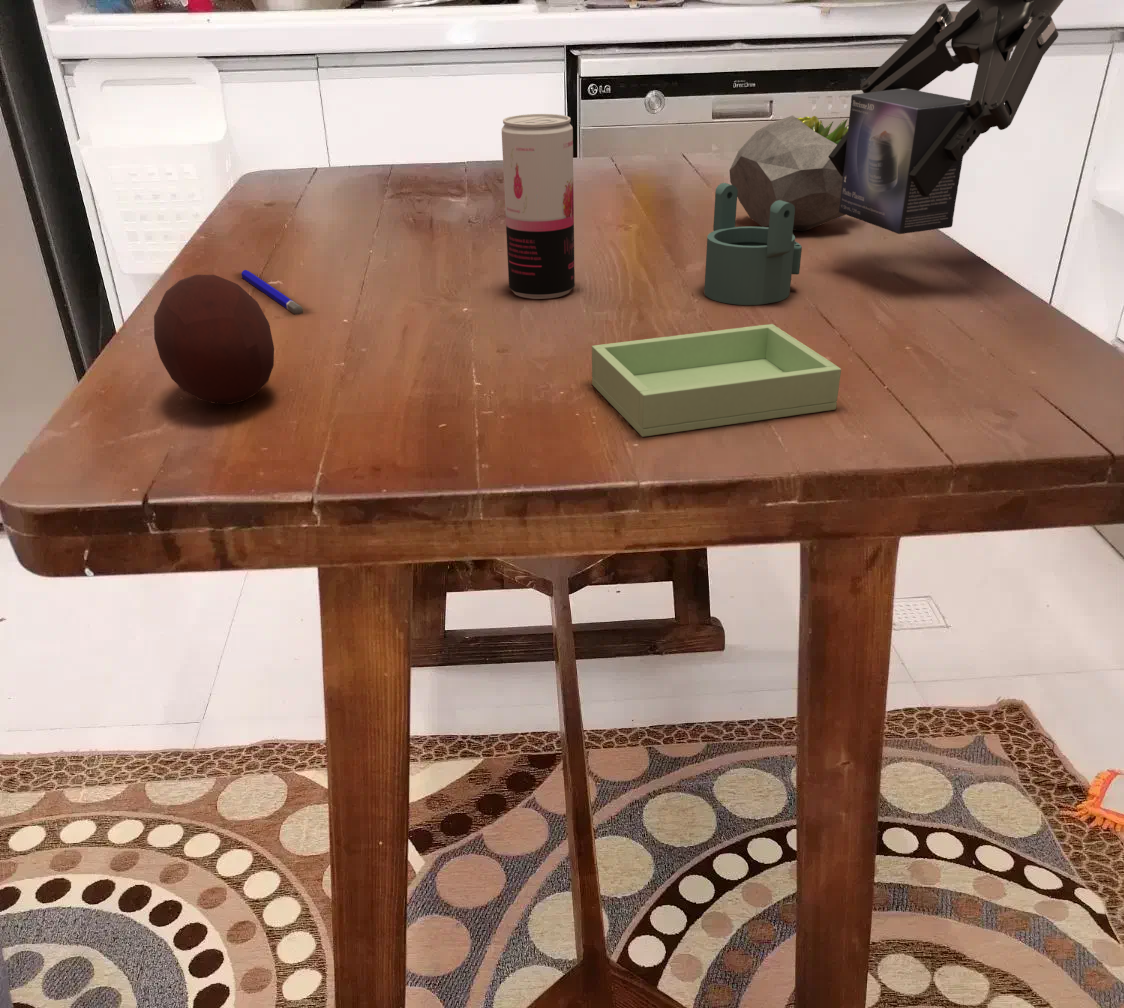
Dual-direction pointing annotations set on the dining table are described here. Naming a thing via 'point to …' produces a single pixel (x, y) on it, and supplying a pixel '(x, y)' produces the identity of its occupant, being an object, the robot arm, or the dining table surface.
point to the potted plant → (790, 171)
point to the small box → (897, 160)
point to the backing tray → (713, 379)
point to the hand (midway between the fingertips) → (875, 176)
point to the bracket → (750, 254)
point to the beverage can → (539, 204)
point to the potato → (214, 339)
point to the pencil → (272, 292)
